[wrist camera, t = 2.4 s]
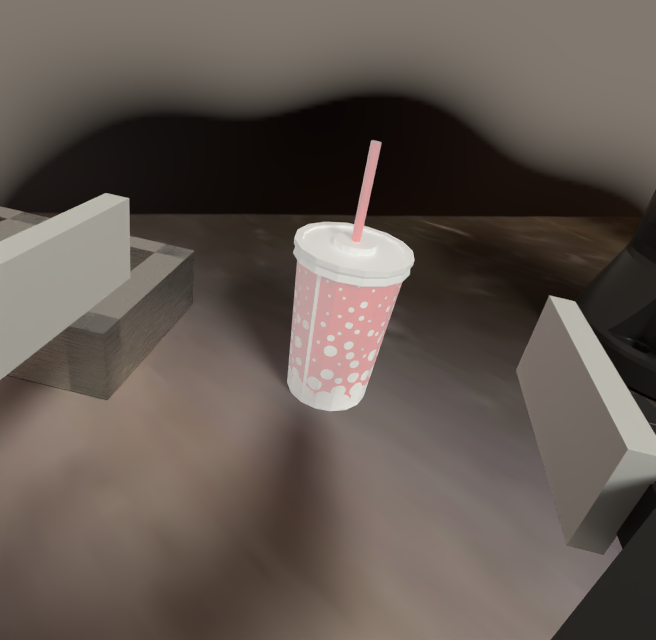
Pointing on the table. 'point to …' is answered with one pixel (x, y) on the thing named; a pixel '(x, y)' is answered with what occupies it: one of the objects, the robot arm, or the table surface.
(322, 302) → the beverage cup
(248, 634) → the table surface
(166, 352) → the table surface
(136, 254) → the grey hollow block
